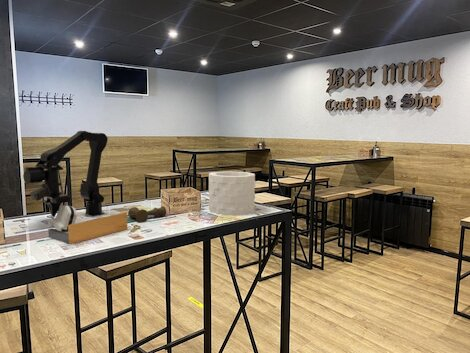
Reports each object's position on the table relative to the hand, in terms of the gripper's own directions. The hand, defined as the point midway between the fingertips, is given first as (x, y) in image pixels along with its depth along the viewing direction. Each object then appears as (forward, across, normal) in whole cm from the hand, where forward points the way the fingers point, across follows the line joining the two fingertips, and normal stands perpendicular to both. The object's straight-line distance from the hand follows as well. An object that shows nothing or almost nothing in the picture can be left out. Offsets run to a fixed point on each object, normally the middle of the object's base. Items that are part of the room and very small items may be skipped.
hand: (53, 216), depth 158 cm
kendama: (+3, +26, +29) cm, 39 cm away
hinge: (+3, +10, 0) cm, 10 cm away
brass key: (+3, +37, +14) cm, 40 cm away
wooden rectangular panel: (+3, +25, +1) cm, 26 cm away
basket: (+3, +46, +68) cm, 83 cm away
